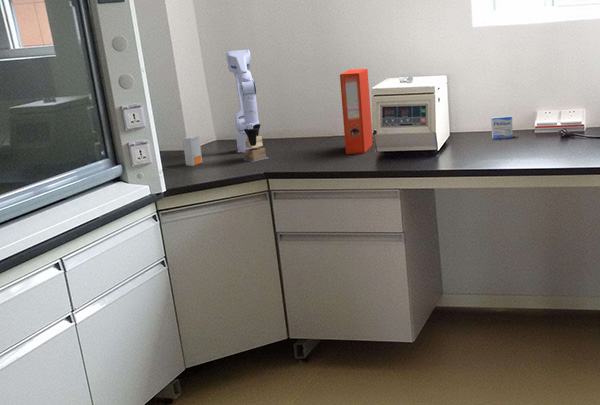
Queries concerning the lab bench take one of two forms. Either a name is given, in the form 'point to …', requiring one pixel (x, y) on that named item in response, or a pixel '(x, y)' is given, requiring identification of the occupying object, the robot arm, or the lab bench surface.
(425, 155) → the lab bench surface
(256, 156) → the base block
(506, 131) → the medicine box
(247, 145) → the maple block
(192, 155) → the skincare box
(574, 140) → the lab bench surface
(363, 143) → the file binder
